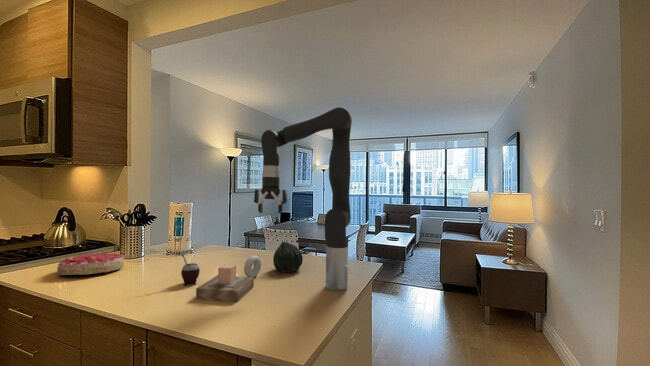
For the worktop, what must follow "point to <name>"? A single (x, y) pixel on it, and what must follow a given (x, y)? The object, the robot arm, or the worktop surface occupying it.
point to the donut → (248, 266)
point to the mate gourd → (189, 272)
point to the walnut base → (225, 289)
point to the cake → (90, 264)
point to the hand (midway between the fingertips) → (270, 213)
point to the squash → (287, 258)
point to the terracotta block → (226, 274)
